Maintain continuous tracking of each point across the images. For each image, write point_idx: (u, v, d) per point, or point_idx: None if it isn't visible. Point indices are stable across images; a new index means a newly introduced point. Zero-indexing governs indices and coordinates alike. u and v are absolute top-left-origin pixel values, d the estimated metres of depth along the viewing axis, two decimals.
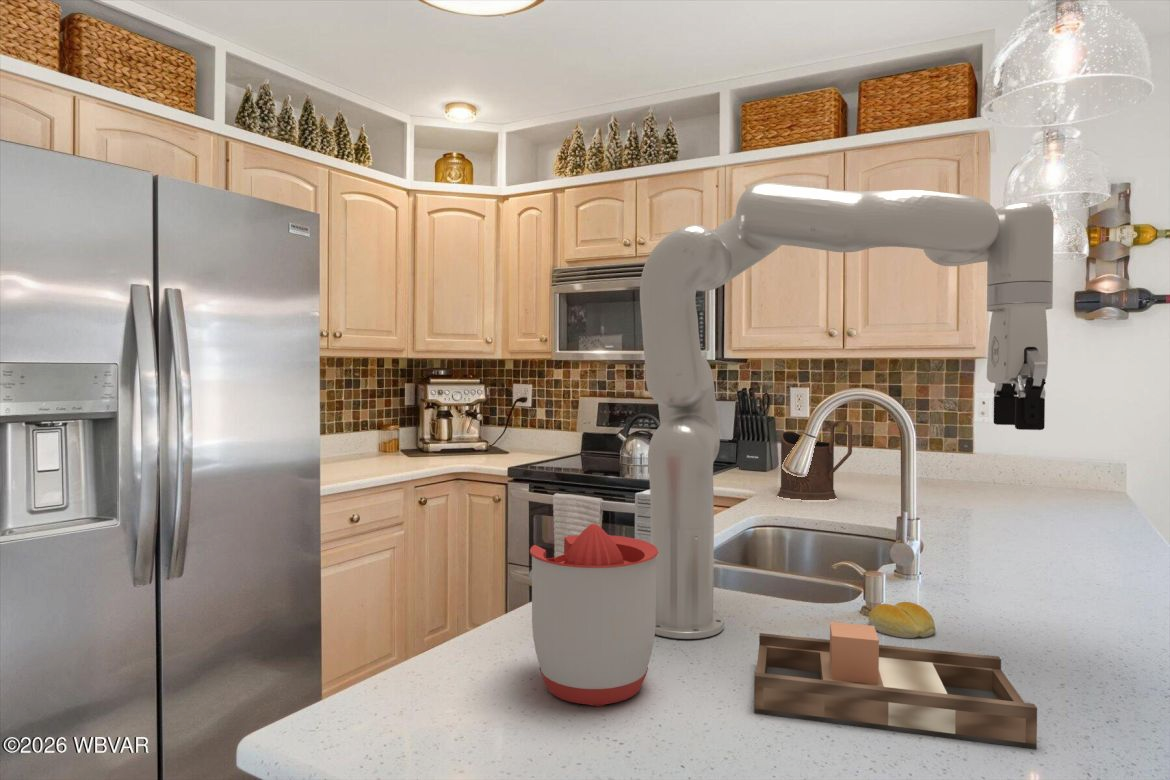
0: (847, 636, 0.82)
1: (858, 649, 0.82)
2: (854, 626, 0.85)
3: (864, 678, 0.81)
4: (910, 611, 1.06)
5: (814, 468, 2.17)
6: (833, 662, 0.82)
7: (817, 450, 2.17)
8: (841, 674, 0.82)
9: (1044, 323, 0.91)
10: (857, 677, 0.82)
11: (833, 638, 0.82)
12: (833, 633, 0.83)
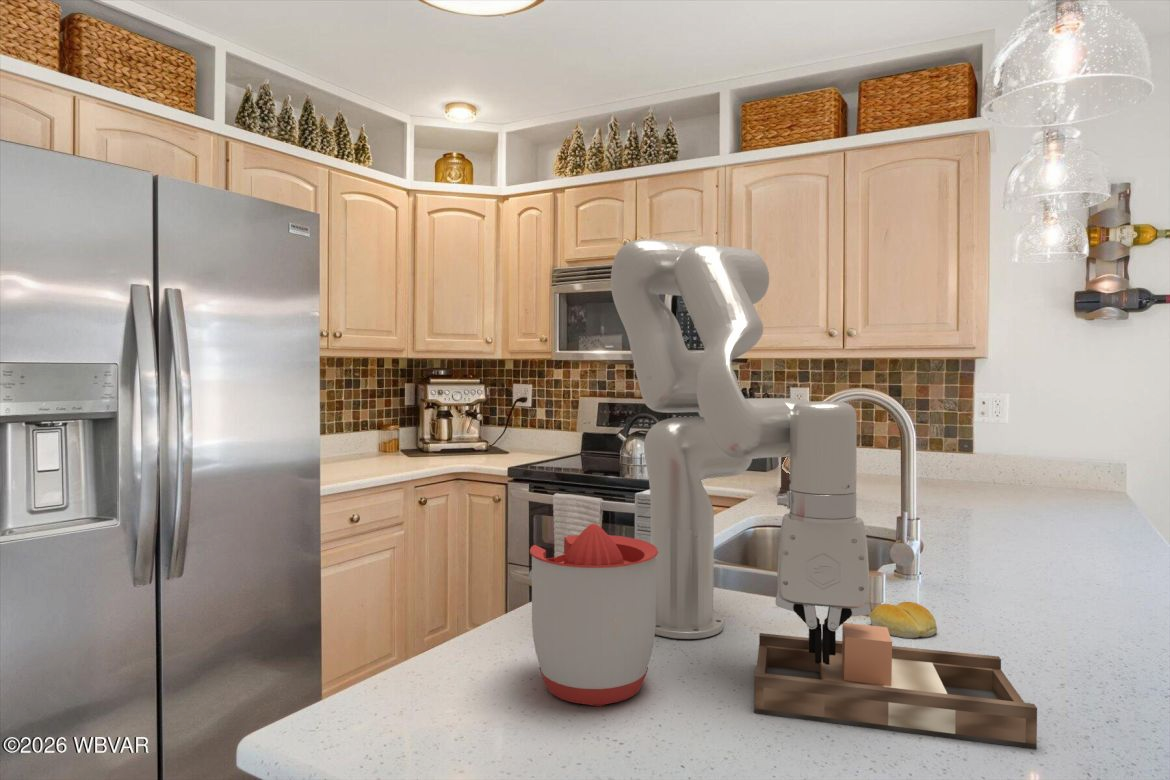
0: (860, 638, 0.82)
1: (871, 650, 0.81)
2: (867, 628, 0.85)
3: (877, 680, 0.81)
4: (911, 611, 1.06)
5: None
6: (846, 663, 0.82)
7: None
8: (854, 675, 0.82)
9: None
10: (870, 678, 0.81)
11: (846, 639, 0.82)
12: (846, 634, 0.83)
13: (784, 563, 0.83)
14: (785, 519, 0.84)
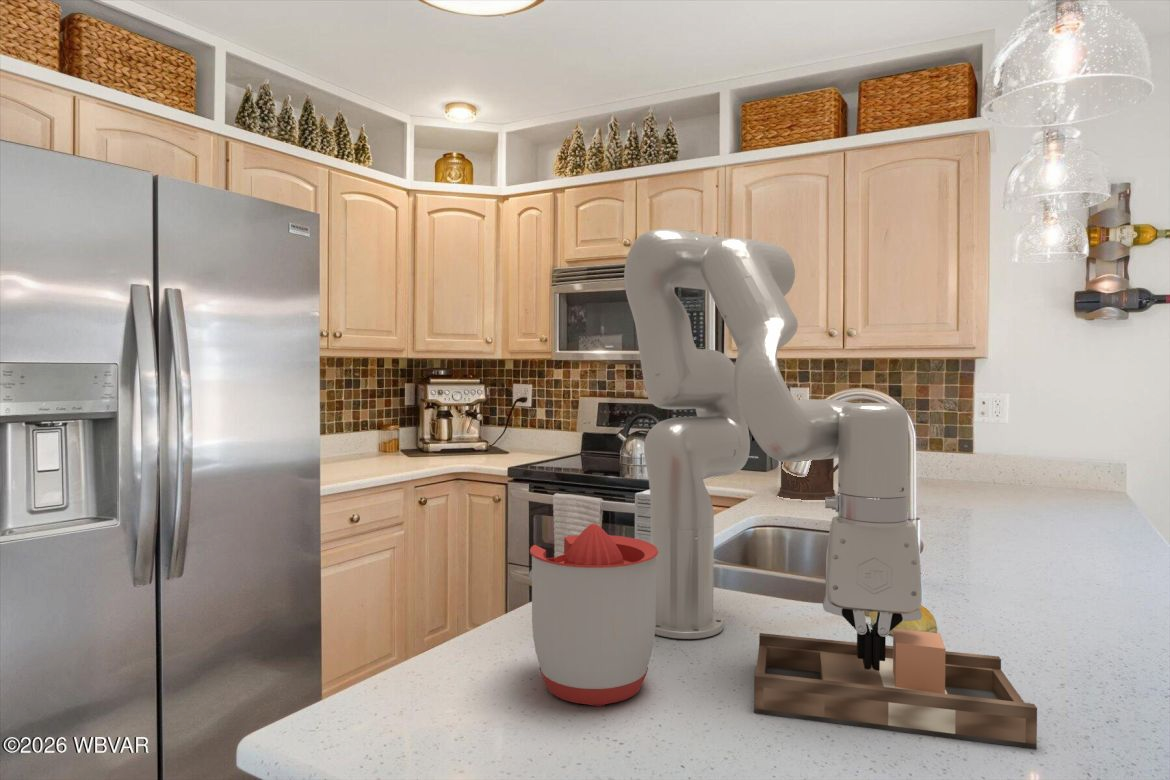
0: (912, 644, 0.80)
1: (923, 657, 0.79)
2: (919, 634, 0.83)
3: (930, 687, 0.79)
4: None
5: (814, 468, 2.17)
6: (897, 670, 0.80)
7: None
8: (905, 682, 0.80)
9: None
10: (922, 686, 0.79)
11: (897, 645, 0.80)
12: (897, 640, 0.81)
13: (834, 567, 0.82)
14: (834, 523, 0.83)
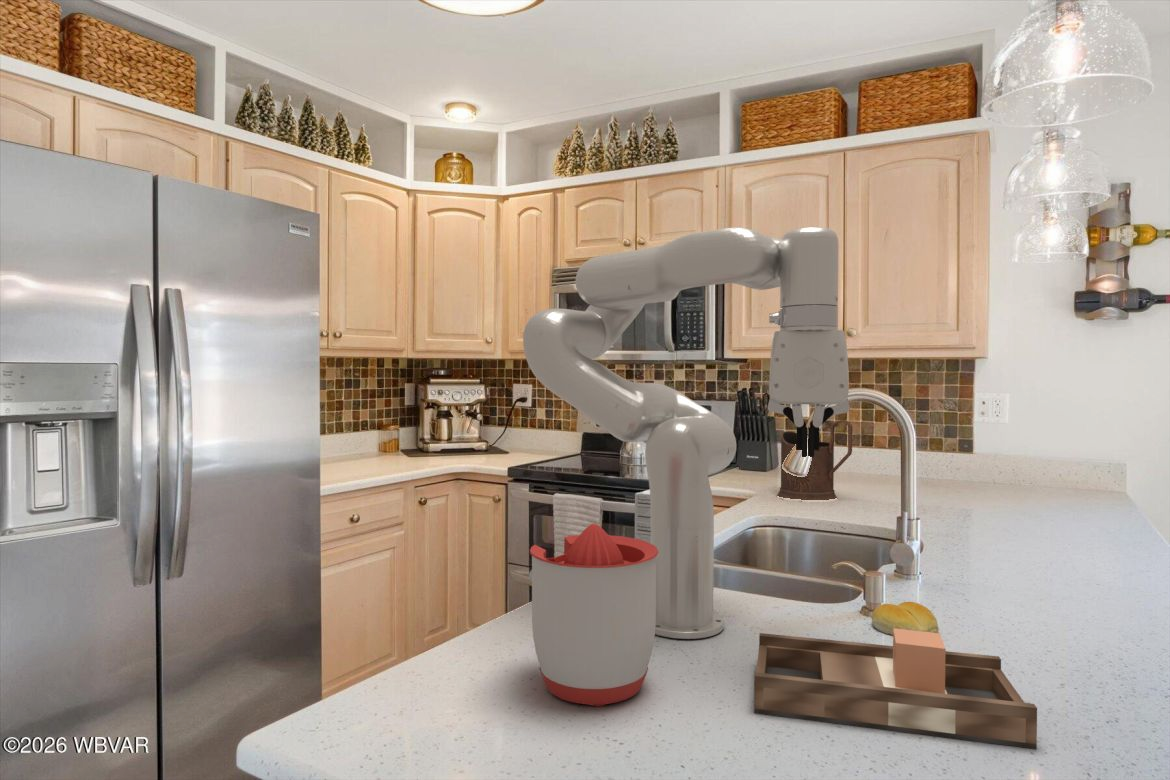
0: (912, 644, 0.80)
1: (923, 657, 0.79)
2: (919, 634, 0.83)
3: (930, 687, 0.79)
4: (913, 611, 1.06)
5: (814, 468, 2.17)
6: (897, 670, 0.80)
7: None
8: (905, 682, 0.80)
9: None
10: (922, 686, 0.79)
11: (897, 645, 0.80)
12: (897, 640, 0.81)
13: (775, 369, 0.96)
14: (776, 332, 0.97)
